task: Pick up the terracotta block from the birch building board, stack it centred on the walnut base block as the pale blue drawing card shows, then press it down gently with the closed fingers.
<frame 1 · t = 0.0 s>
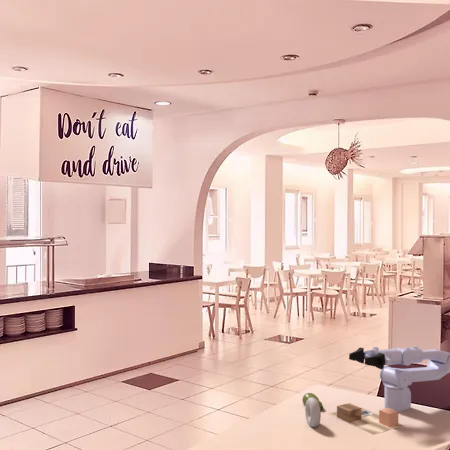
hand: (357, 359, 198), 22 cm above the table, tool horizontal, fingers open, 7 cm apart
donut: (312, 427, 191), on the table
pear: (313, 409, 210), on the table
build board: (365, 421, 196), on the table
top block: (388, 423, 192), point 1 cm above the table, touching build board
base block: (349, 418, 198), point 1 cm above the table, touching build board
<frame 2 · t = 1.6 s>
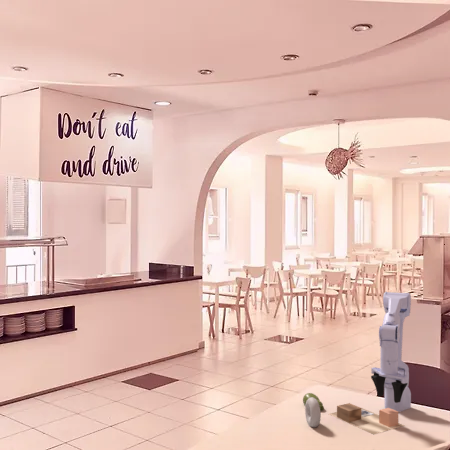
hand: (388, 399, 192), 9 cm above the table, tool pointing down, fingers open, 7 cm apart
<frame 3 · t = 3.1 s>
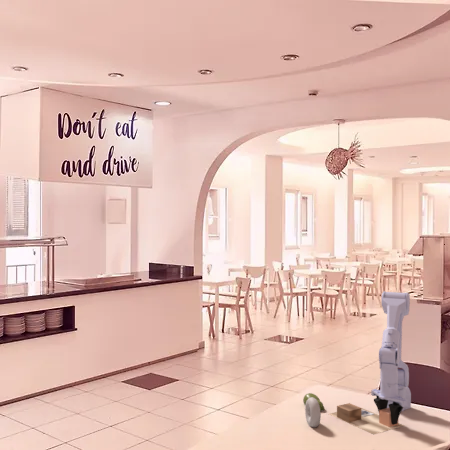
hand: (388, 421, 192), 2 cm above the table, tool pointing down, fingers closed on top block, 4 cm apart
top block: (388, 423, 192), point 1 cm above the table, touching build board, gripper
everything else where it was.
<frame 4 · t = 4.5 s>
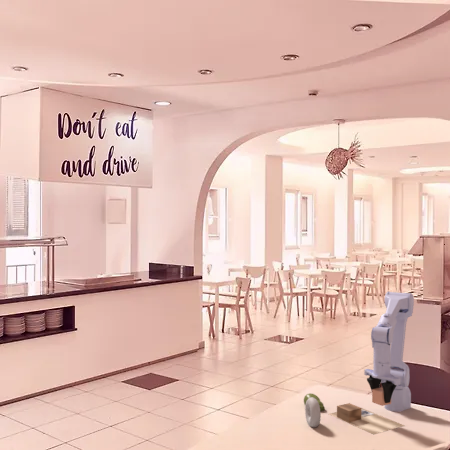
hand: (381, 400, 193), 9 cm above the table, tool pointing down, fingers closed on top block, 4 cm apart
top block: (381, 402, 193), point 8 cm above the table, touching gripper
everything else where it was.
when the fingers open (7 cm above the table, at t = 6.0 s): top block stays where it is, resting on base block.
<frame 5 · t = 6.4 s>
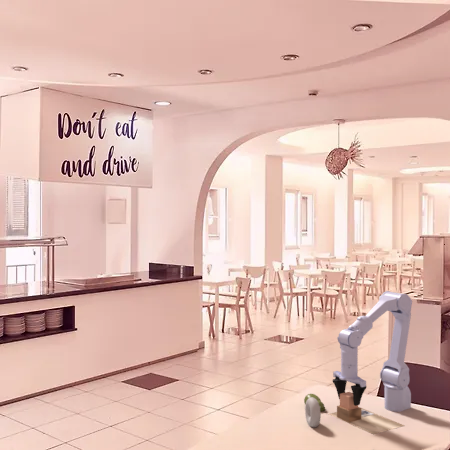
hand: (349, 401, 197), 7 cm above the table, tool pointing down, fingers open, 7 cm apart
top block: (348, 407, 197), point 5 cm above the table, touching base block
base block: (349, 418, 198), point 1 cm above the table, touching build board, top block
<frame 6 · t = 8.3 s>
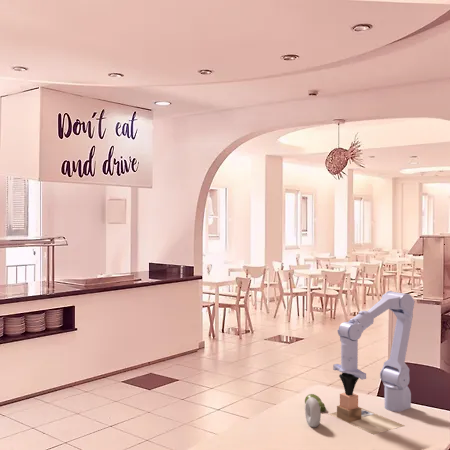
hand: (349, 394, 197), 9 cm above the table, tool pointing down, fingers closed, pressing on top block
top block: (348, 407, 197), point 5 cm above the table, touching base block, gripper
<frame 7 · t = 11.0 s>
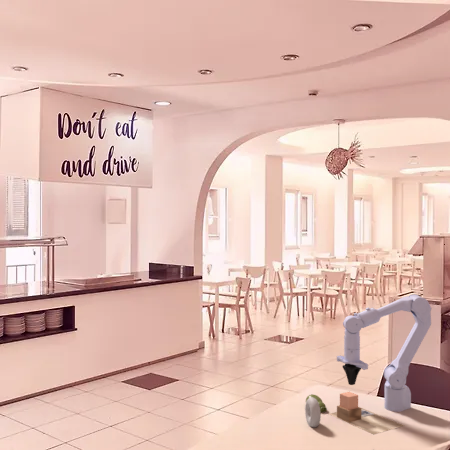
hand: (351, 384, 209), 9 cm above the table, tool pointing down, fingers closed
top block: (348, 407, 197), point 5 cm above the table, touching base block
at the end: top block 0.1 cm off-centre on the base block, point 4.0 cm above the base block's base; top block tilted 0°; base block moved 0.0 cm from its start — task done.
